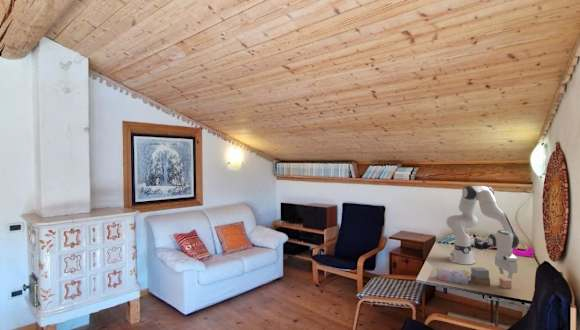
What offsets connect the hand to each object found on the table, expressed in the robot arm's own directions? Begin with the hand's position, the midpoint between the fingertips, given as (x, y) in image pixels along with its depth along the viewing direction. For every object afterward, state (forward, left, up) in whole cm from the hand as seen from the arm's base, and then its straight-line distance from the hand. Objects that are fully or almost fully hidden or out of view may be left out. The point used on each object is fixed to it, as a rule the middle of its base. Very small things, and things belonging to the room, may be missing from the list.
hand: (505, 276), depth 223 cm
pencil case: (-9, -31, -7) cm, 33 cm away
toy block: (-80, +59, -8) cm, 100 cm away
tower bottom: (-8, -13, -7) cm, 17 cm away
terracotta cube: (0, 0, -7) cm, 7 cm away
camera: (-103, +34, -7) cm, 109 cm away
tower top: (-8, -13, -2) cm, 15 cm away
